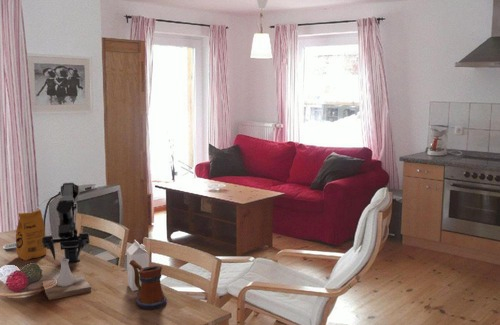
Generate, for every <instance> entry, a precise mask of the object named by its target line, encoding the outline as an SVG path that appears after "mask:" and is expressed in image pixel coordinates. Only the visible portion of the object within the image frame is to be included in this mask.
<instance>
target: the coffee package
mask: <svg viewBox="0 0 500 325" xmlns="http://www.w3.org/2000/svg"><path fill="white" fill-rule="evenodd" d="M43 218H44V217H43V214H42V210H41V209H37V210H35V211H34V210H33V211H31V212H20V213H19V212H18V223H17V226H16V230H15V246H16V247H15V248H16V255H17V257H18V258H19V259H21V260H22V259H23V260H22V261H28V260H30V259H31V260H32V259H38V258H41V257H43V256H46V255H47V248H45V247H44V246H43V243H42V238H43V237H44V236H46V227H45V222H44V219H43Z"/></svg>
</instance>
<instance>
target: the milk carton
mask: <svg viewBox="0 0 500 325" xmlns="http://www.w3.org/2000/svg"><path fill="white" fill-rule="evenodd" d="M149 258H150V257H149V252H148V251H147V250H146V245H144V244H143V243H141V244H140V243H139V242H138V241H137V240H136V239H134V242H133V243H132V244H131V245H130V246H129V247H128V248H127V249H126V266H127V285H128V288H130V290H131V291H132V292H135V291H139V289H138V288H137V286H136V285H135V281H134V280H135V272H134V268H133V266H132V265H130V264H129V263H130V261H132V260H134V261H135V262H136V263H137V264H139V265H140V266H141V267H142V268H145V267H150V259H149ZM137 270H138V272H139V271H140V270H139V269H138V268H137ZM139 276H140V274H139ZM139 283H140V286H141V281H140V278H139Z"/></svg>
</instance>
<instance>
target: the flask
mask: <svg viewBox="0 0 500 325" xmlns="http://www.w3.org/2000/svg"><path fill="white" fill-rule="evenodd" d="M68 261H69V260H68V259H63V258H62V259H60V260H59V262H60V271H59V274H58V276H57V278H58V279H57V278H56V279H57V285H58V286H62V287H66V286H70V285H73V284H74V283H76V281H75V279H74V277H73V273H72V271H71V269H70V266H69V263H68Z"/></svg>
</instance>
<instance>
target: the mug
mask: <svg viewBox="0 0 500 325" xmlns="http://www.w3.org/2000/svg"><path fill="white" fill-rule="evenodd" d="M129 264H130V265H132V266H133V268H134V272H135V280H134V281H135V285H136V286H137V288H138V289H139V290H138V292H139V293H137V297H136V300H135V304H136V306H138V307H139V308H140V309H143V310H156V309H157V310H158V309H160V308H163V307H164V306H165V305H166V303H167V301H168V299H167V297H166V295H165V293H164V291H163V289H162V284H161V278H162V270H163V266H161V265H151V266H150V265H149V267H145V268H142V267H141V266H140V265H139V264H137V263H136V262H135V261H134V260H132V261H130V263H129ZM137 268H138V269H139V270H140V271H139V272H138V270H137ZM139 274H140V276H139ZM139 278H140V281H141V286H140V283H139Z"/></svg>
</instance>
